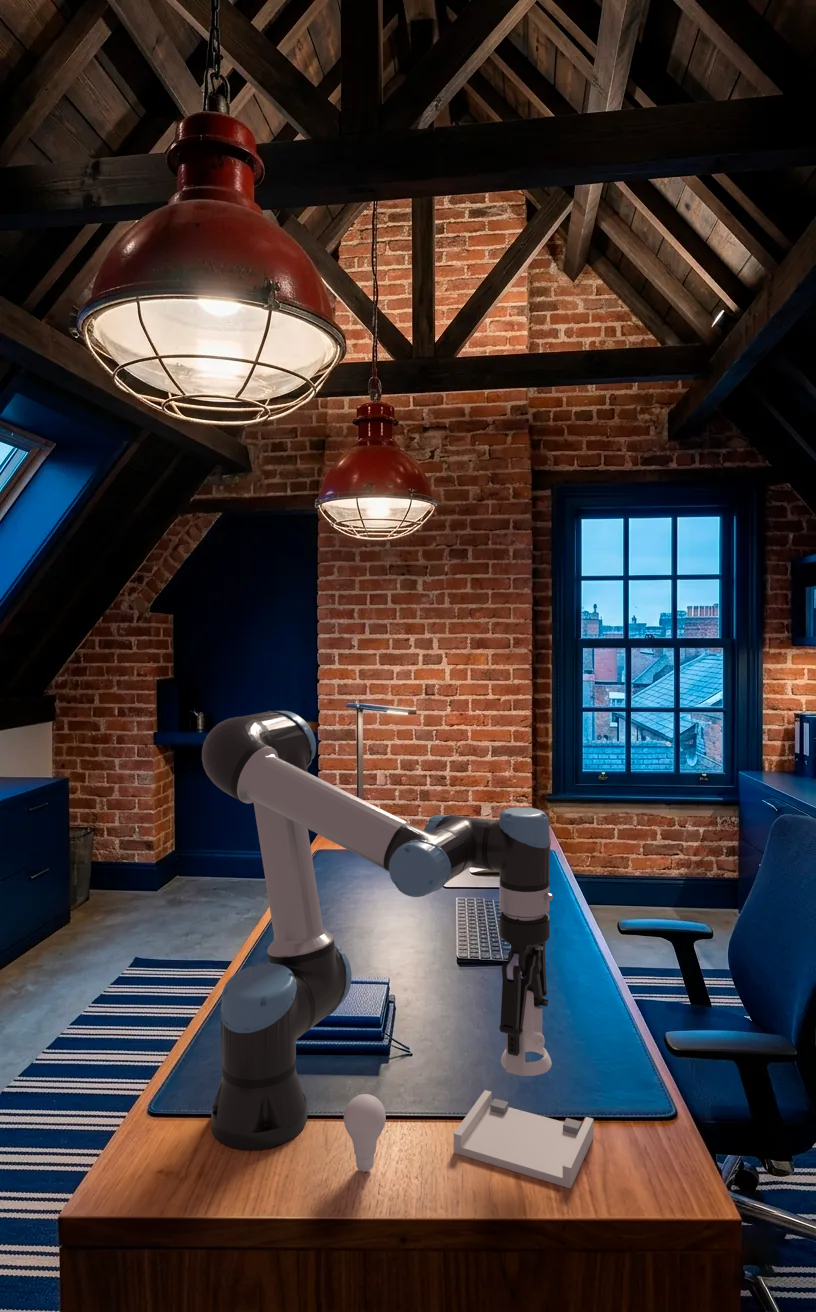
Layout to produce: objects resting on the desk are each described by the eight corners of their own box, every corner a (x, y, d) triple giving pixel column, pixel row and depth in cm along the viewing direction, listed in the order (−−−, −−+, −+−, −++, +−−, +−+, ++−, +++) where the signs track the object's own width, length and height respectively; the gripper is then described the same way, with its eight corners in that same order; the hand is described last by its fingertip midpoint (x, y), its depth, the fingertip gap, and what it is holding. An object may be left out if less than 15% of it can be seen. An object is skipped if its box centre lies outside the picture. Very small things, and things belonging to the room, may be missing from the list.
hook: (538, 1001, 137) (555, 992, 131) (541, 1083, 130) (560, 1077, 125) (494, 996, 135) (510, 987, 130) (495, 1079, 129) (512, 1073, 123)
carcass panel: (453, 1152, 127) (453, 1133, 127) (484, 1107, 139) (484, 1089, 139) (570, 1188, 119) (570, 1168, 119) (593, 1137, 131) (593, 1118, 131)
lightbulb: (391, 1162, 125) (391, 1089, 124) (376, 1188, 119) (376, 1112, 119) (353, 1153, 127) (353, 1082, 126) (337, 1179, 121) (336, 1104, 121)
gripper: (526, 939, 116) (526, 1100, 117) (567, 895, 135) (567, 1035, 136) (476, 930, 120) (476, 1087, 121) (522, 889, 138) (522, 1025, 139)
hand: (524, 1059), depth 128 cm, fingers closed on hook, 8 cm apart
